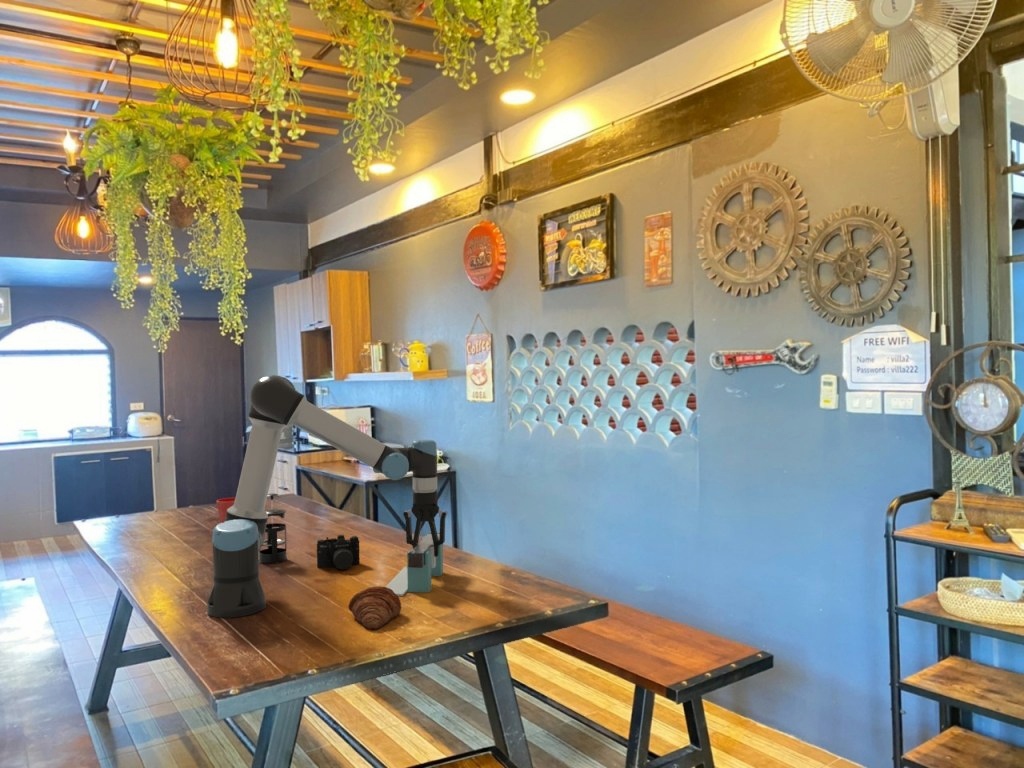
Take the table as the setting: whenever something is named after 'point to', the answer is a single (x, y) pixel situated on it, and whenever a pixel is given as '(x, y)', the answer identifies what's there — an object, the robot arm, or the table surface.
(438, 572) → the post
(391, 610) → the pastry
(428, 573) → the post
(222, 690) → the table surface
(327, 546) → the camera
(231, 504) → the flower pot
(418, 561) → the rail
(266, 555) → the french press
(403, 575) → the white flat board
